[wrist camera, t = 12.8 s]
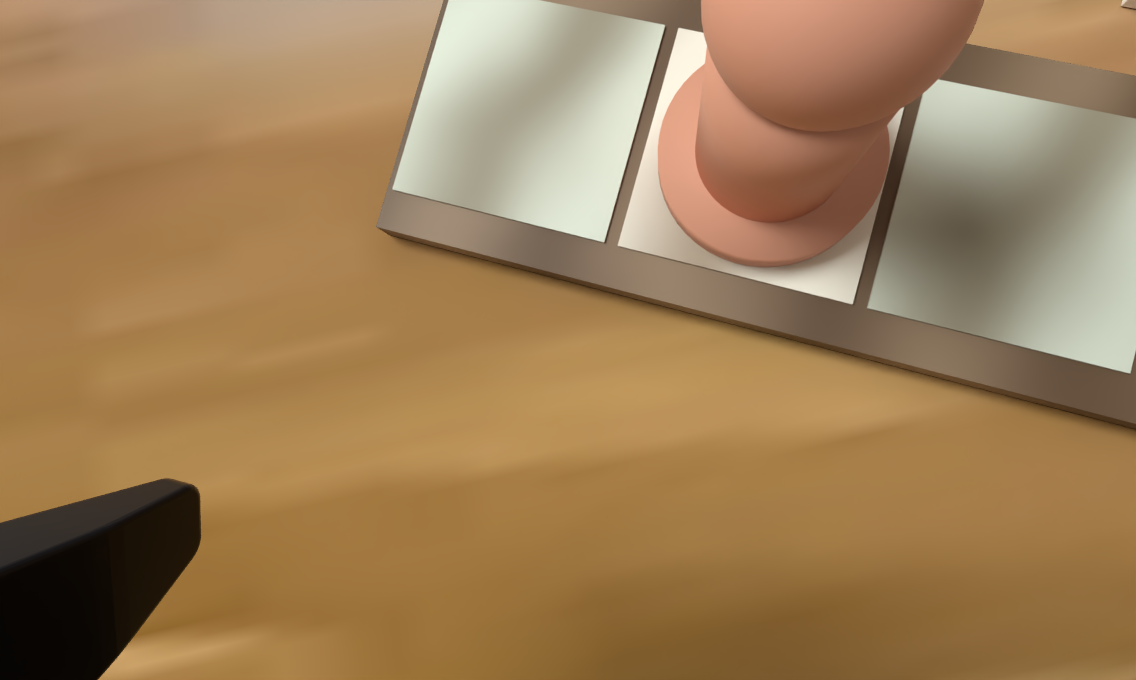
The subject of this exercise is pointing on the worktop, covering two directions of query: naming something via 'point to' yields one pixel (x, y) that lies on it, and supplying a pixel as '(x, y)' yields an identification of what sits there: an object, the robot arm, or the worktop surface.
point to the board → (841, 273)
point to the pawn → (797, 118)
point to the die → (1129, 3)
